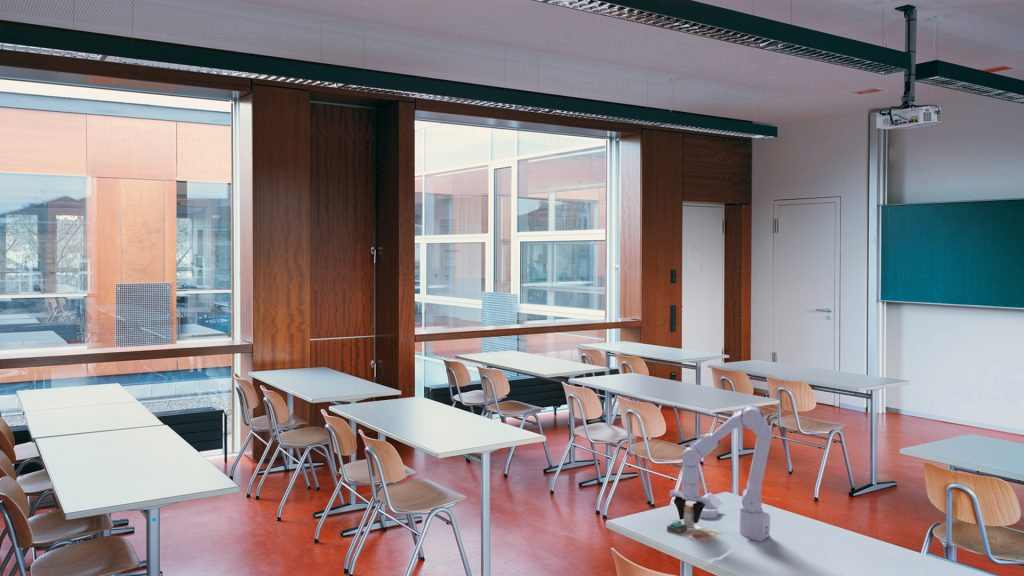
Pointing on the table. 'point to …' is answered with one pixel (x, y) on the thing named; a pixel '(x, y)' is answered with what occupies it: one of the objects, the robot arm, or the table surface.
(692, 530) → the beige base plate
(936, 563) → the table surface
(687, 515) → the capsule peg
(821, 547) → the table surface
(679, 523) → the button
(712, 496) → the wedge on round base
